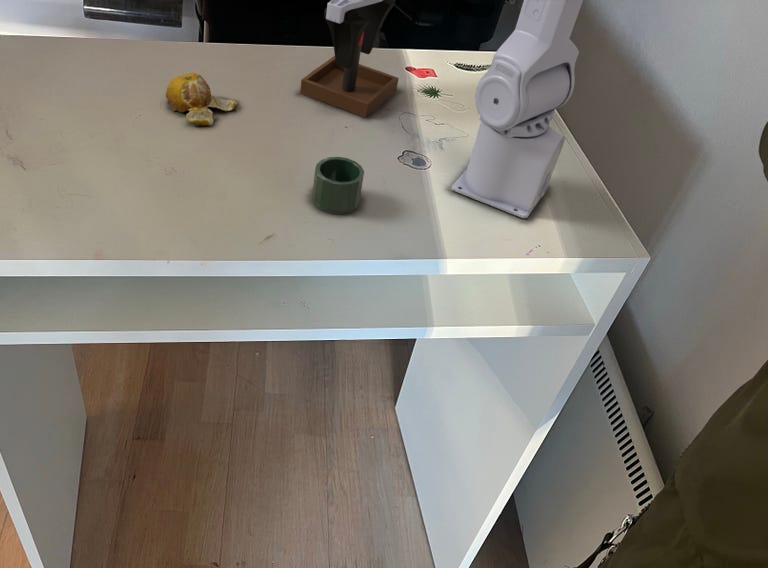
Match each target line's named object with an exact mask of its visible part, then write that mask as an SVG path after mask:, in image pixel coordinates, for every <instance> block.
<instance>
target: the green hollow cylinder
mask: <svg viewBox="0 0 768 568" xmlns="http://www.w3.org/2000/svg"><path fill="white" fill-rule="evenodd" d="M364 177H365V170H364V168H363V166H362V165H361V164H359V163H358V162H357V161H355V160H353V159H350V158H347V157H343V156H329V157H326V158H322V159H321V160H320V161H318V162H317V163H316V165H315V169H314V176H313V185H312V197H311V198H312V199H311V200H312V203H313V204H314V205H315V207H317V208H318V209H319V210H321V211H323V212H325V213H328V214H332V215H345V214H349V213H352V212H353V211H355V210H356V209H357V208H358V207H359V205H360V198H361V193H362V188H363V182H364Z"/></svg>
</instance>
